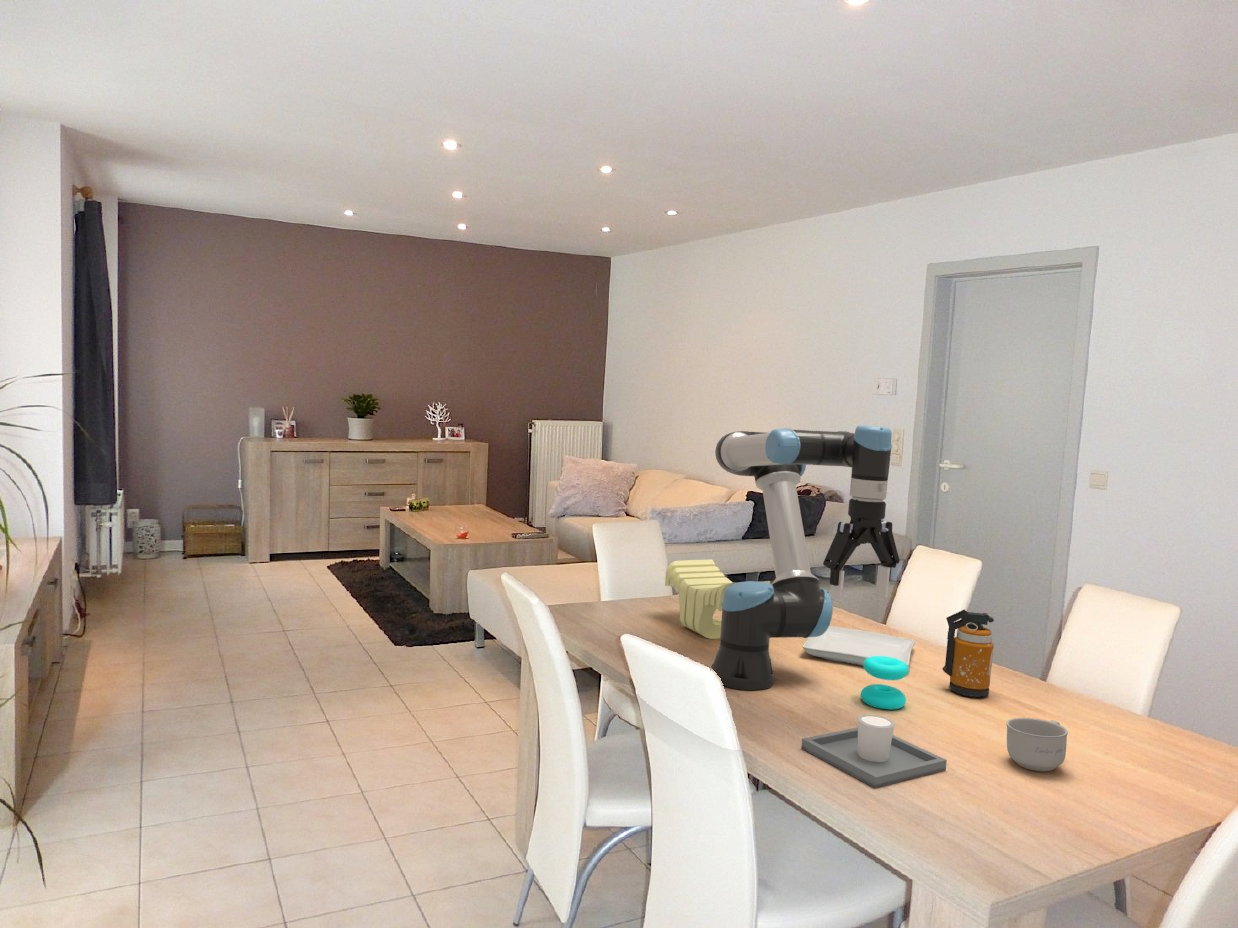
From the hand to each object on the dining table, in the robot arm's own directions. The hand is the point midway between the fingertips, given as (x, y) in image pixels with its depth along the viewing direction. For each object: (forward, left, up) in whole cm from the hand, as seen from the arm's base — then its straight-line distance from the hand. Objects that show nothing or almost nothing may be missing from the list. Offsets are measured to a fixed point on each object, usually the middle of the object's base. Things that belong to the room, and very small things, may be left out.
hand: (859, 598), depth 191 cm
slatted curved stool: (-68, +15, -27) cm, 75 cm away
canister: (-3, +42, -27) cm, 50 cm away
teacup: (+32, +19, -27) cm, 46 cm away
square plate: (-36, +41, -27) cm, 61 cm away
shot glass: (+17, -11, -26) cm, 33 cm away
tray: (+17, -11, -27) cm, 34 cm away
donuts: (-5, +16, -27) cm, 32 cm away
